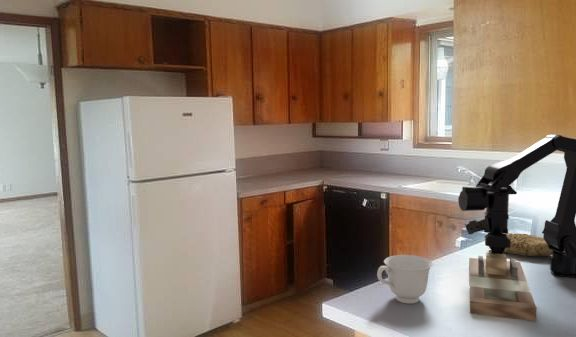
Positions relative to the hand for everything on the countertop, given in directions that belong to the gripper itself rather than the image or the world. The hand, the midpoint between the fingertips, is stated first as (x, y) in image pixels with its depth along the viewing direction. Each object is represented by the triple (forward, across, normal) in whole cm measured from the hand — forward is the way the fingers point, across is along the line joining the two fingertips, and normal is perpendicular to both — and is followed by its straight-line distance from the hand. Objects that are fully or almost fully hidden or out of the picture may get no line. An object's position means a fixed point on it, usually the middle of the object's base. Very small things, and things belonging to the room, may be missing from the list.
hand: (495, 262), depth 135 cm
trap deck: (+4, +11, 0) cm, 12 cm away
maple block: (+1, +4, 0) cm, 5 cm away
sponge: (+5, -27, +10) cm, 29 cm away
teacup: (+4, +26, -23) cm, 34 cm away
